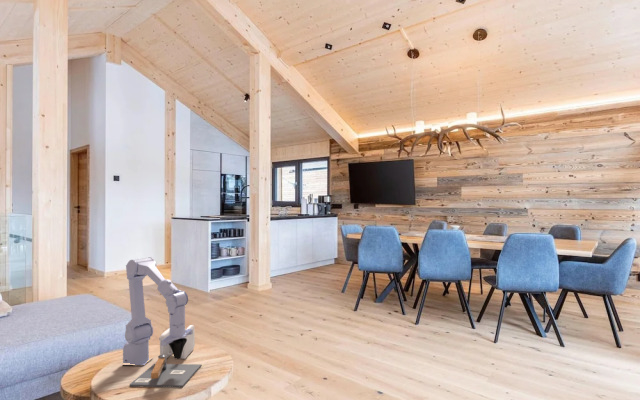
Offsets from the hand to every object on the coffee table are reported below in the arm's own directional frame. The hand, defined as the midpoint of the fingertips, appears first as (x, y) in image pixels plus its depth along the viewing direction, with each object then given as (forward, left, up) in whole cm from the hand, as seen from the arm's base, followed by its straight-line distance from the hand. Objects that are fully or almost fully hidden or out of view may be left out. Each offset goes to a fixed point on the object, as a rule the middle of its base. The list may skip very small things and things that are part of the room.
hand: (177, 358), depth 148 cm
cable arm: (-6, -4, -6) cm, 9 cm away
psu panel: (-3, -1, -6) cm, 7 cm away
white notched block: (-8, +19, -7) cm, 22 cm away
